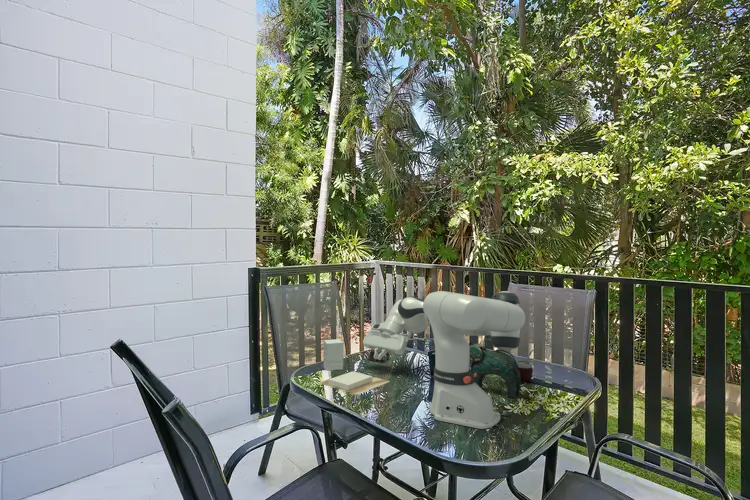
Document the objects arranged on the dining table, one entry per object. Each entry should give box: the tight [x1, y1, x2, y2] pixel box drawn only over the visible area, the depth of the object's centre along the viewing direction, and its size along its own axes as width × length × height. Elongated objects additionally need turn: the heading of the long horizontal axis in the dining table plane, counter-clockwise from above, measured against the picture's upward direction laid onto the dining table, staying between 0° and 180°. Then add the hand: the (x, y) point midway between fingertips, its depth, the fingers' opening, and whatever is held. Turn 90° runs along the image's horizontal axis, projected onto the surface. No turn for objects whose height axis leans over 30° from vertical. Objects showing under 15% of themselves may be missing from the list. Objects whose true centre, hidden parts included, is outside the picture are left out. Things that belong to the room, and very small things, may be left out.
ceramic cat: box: [468, 338, 522, 399], centre depth 159 cm, size 20×6×20 cm, turn 53°
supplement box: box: [323, 338, 344, 372], centre depth 185 cm, size 7×7×13 cm
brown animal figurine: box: [368, 349, 390, 363], centre depth 202 cm, size 12×10×8 cm
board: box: [318, 371, 391, 395], centre depth 165 cm, size 20×20×1 cm
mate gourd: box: [516, 347, 537, 385], centre depth 171 cm, size 8×8×15 cm
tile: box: [329, 371, 373, 391], centre depth 163 cm, size 10×2×14 cm
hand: (376, 358), depth 176 cm, fingers closed
